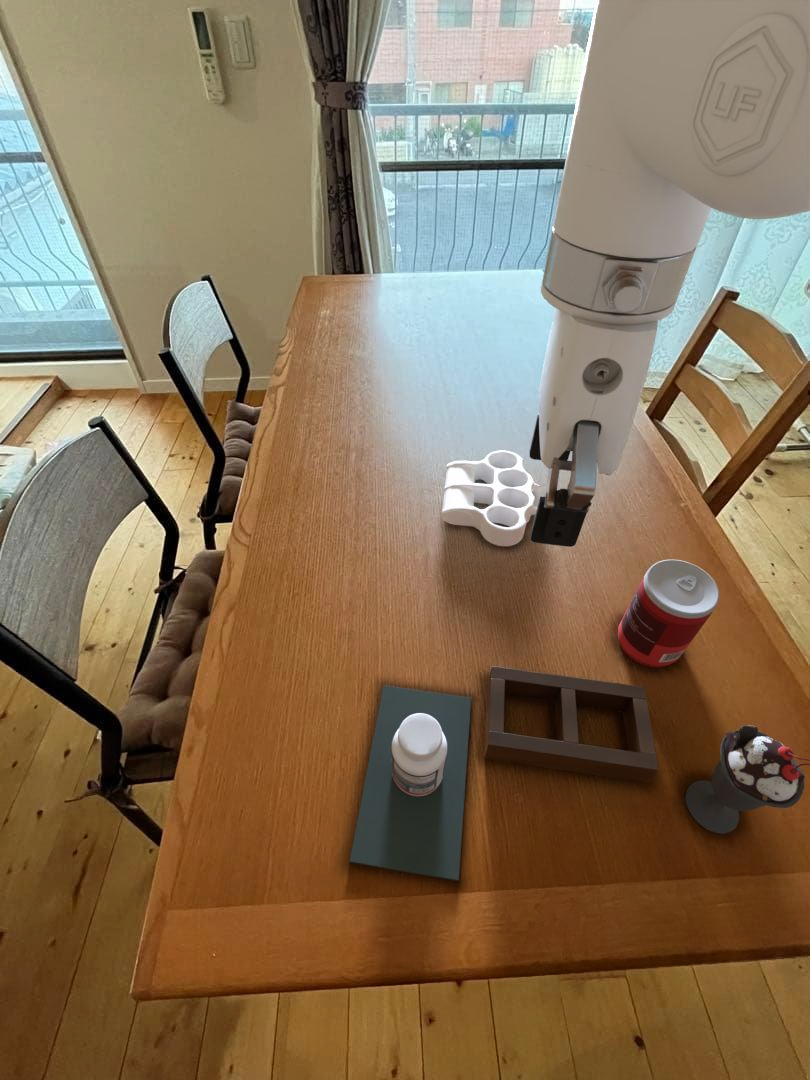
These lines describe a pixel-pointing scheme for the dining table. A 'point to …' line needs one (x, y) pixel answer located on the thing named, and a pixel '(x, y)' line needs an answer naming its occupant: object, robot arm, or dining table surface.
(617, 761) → the holder
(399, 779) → the pill bottle
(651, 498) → the dining table surface
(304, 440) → the dining table surface
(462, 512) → the white brass knuckles
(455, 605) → the dining table surface
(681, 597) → the canned food
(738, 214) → the robot arm
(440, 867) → the mat
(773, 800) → the sundae
